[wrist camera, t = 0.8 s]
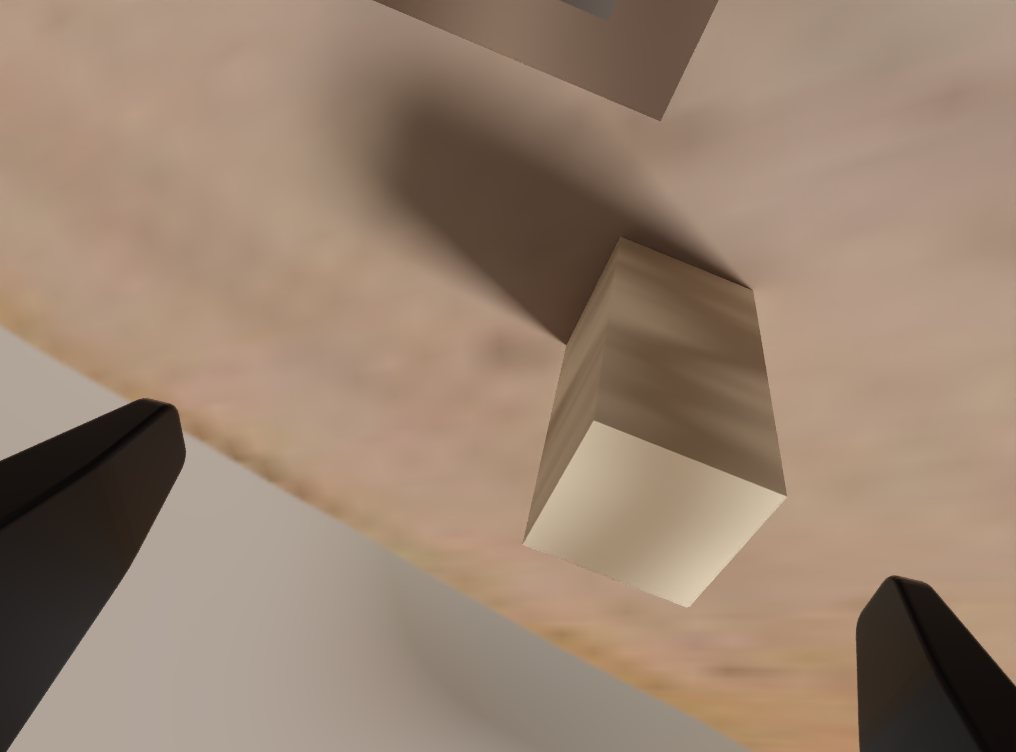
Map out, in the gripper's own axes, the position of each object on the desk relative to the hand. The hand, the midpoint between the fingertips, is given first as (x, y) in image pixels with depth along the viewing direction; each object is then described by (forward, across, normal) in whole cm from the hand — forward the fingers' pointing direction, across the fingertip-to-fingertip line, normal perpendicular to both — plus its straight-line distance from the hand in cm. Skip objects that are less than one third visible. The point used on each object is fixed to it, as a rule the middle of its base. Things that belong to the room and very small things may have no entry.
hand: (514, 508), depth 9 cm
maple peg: (+12, -2, +4) cm, 13 cm away
